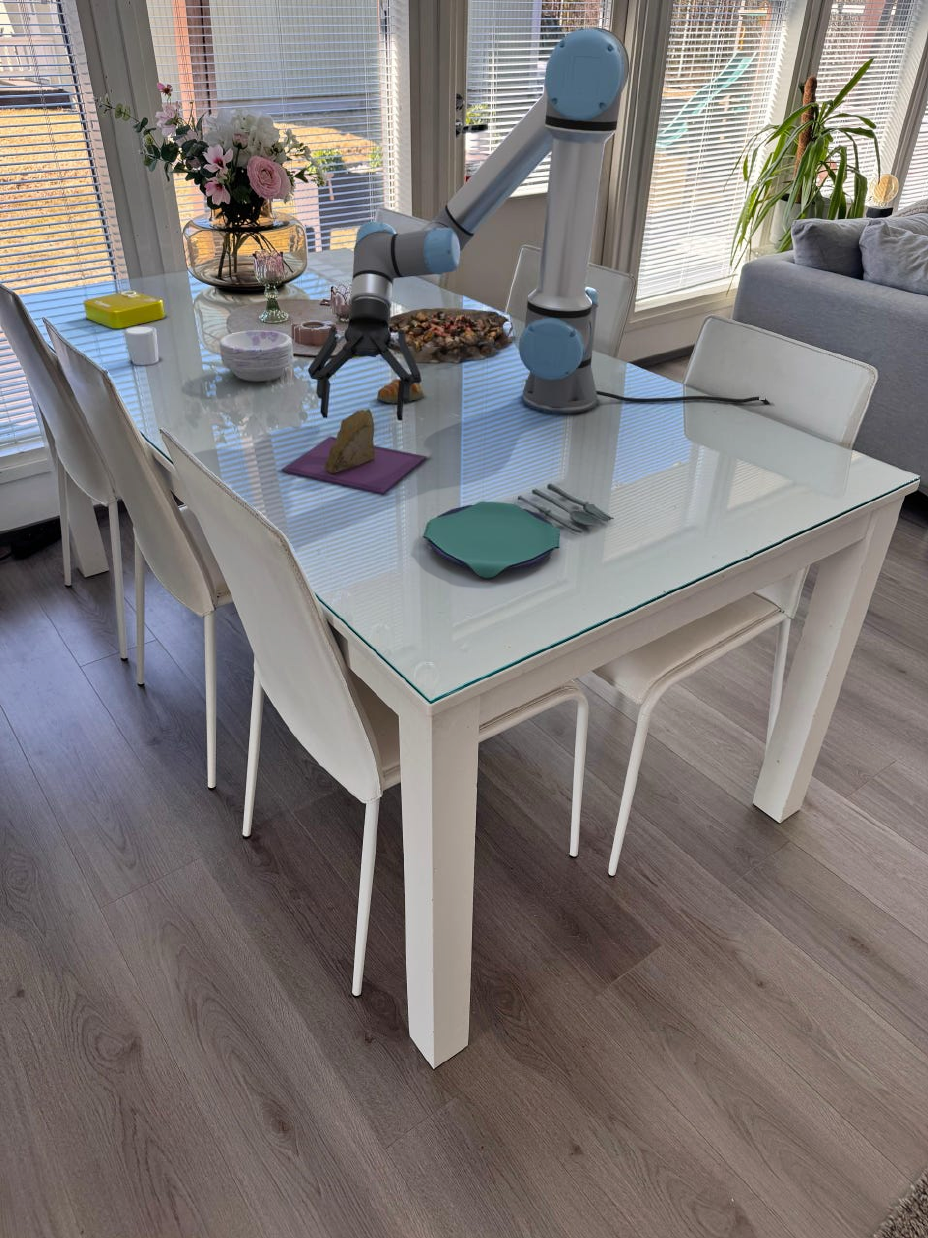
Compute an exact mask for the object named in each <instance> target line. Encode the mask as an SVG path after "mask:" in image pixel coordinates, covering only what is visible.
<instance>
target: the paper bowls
mask: <svg viewBox="0 0 928 1238" xmlns="http://www.w3.org/2000/svg"><path fill="white" fill-rule="evenodd" d="M219 348H220V358H221V363H222V365H223V366H224V367H225V368H227V369H230V370H231V371H232V372H233V374H234V376H236V378H238V379H240V380H243V381H247V382H257V383H258V382H269V381H273V380H276V379H278V378H280V377H281V376H282V375H283V374H284V372H285V370H286V368H287V367H289V366H291V365H292V364H293V363H294V351H293V350H294V349H293V339H292V338H291V336H289V335H288V334H286V333H284V332H281V331H274V330H260V329H256V330H254V329H253V330H243V331H237V332H236V331H235V332H232V333H229V334H227V335H224V336H223V337H221V338H220V340H219Z"/></svg>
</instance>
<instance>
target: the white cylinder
mask: <svg viewBox="0 0 928 1238" xmlns="http://www.w3.org/2000/svg"><path fill="white" fill-rule="evenodd" d="M123 335H124V338H125V341H126V345H127V349H128V351H129V355H130V359H131V361H132V363H133V365H136V366H149V365H154V364H156V363H158V362H159V350H158V349H159V348H158V338H157V337H158V335H157V328H155V327H154V326H150V325H135V326H130V327H126V328H124V330H123Z"/></svg>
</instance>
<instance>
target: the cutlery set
mask: <svg viewBox="0 0 928 1238" xmlns="http://www.w3.org/2000/svg"><path fill="white" fill-rule="evenodd" d="M546 487H547V488H546V489H547V490H549V491H552V493H553V492H554V493H555V494H557V495H559V496H560V497H562V498H564V499H565V500H567V501H569V502H571V503H572V504H576V505H578V506H581V507H582V509H583V510H584V511H581V510H575V509H574V510H570V509H569V508H568V507H566V506H564V505H563V504H561V503H560V502H559V501H557V500H556V499H554V498H553V497H551V496H549V495H548V494H546V493H544V492H543V491H541V490H540V489H538V488H534V489H531V494H533V495H535V496H536V497H539V498H541V499H543V500H545V501H546V502H549V503H552V505H554V506H556V507H558V508H560V509H561V510H563V511H564V512H566V513H567V514H569V518H570V519H571V520H572V521H574V523H576V524H579V525H582V526H589V527H594V526H596V525H599V524H600V523H599V521H598V519H600V520H602V521H604V522H609V521H612V520H615V518H614V517H612V516H610V515H609V514H607V513H605V512H604V511H603V510H602V509H600V508H598V507H597V506H596V504H595V503H589V502H588V501H585V502H584V501H583V500H580V499H578V498H575V497H574V496H572V495H571V494H569V493H567V492H565V491H564V490H562V489H561V488H560V487H558V486H556V485H554V483H551V482H550V483H548V484H547V486H546ZM520 500H521V501H522V502H524V503H527V504H529V505H530V506H532V507H533V508H536V509H537V510H538V511H539V513H540V514H538V513H536V512H534V511H532V510H529V509H527V508H523V507H521V506H520V505H518V504H516V503H512V502H502V501H484V500H483V501H479V502H476V503H474V504H468V505H464V506H460V507H455V508H451V509H449V510H447V511H445V512H443V513H441V514H438V515H437V516H436V517H434V518H431V519H429V521H427V523H426V526H425V529H424V532H423V535H422V537H423V538H424V539H427V542H428V545H429V547H430V548H431V549H432V550H433V551H434V552H435V554H437V555H438V556H440V557H441V558H444V559H446V560H447V561H449V562H451V563H453V564H456V565H460V566H463V567H467V568H471V570H473V571H474V572H475V574H476V575H478V576H480V577H481V578H484V579H490V578H493V577H496V576H497V575H498V574H500V572H502V571H504V570H514V569H521V568H523V567H528V566H531V565H534V564H536V563H539V562H541V561H543V560H544V559H546V558H547V557H549V556H551V554H552V553H553V551H554V550H555V549H560V541H561V540H560V539H561V538H560V537H561V531H560V529H559V528H558V527H557V526H555V525H554V524H553V523H552V522H550V520H547V519H546V518H547V517H549V518H550V519H552V520H553V521H555V522H556V523H558V524H560V525H562V526H563V527H565V528H567V529H569V530H571V531H573V532H575V533H583V529H581V528H579V527H577V526H576V525H573V523H570V522H568V521H566V520H565V519H563V518H561V517H559V516H557V515H555V514H554V513H552V509H551V508H550V509H548V508H547V507H545V506H539V505H538V504H536V503H534V502H532V501H529V500H528V499H526V498H525V497H523V496H522V495H518V496H517V501H520ZM541 514H544V516H542V515H541ZM597 518H598V519H597Z"/></svg>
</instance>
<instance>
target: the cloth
mask: <svg viewBox="0 0 928 1238" xmlns="http://www.w3.org/2000/svg"><path fill="white" fill-rule="evenodd" d="M336 438H337V437H334V436H329V437H327V438H325V440H323V441H321V442H320V443H318V444H316V446H314V447H313V448H311V449H309V450H308V451H307V452H305V453H303V454H302V455H301V456H299V457H298V458H296V459H295V460H293V461H292V462H290V463H289V464H287V465H286V466H285V467H283V468H282V469H281V472H282V473H287V474H291V475H294V476H299V477H303V478H308V479H314V480H317V481H321V482H326V483H331V484H334V485H339V486H344V487H347V488H352V489H357V490H361V491H366V492H368V493H369V492H370V493H374V494H379V495H385V494H387V493H388V492H389V491H390V490H391V489H392V488H393V487H395V486H396V485H397V484H398V483H399V482H401V481H402V480H403V479H404V478H406V476H408V475H409V474H410V473H411V472H412V471H413V470H415V469H416V468H417V467H418V466H419V465H421V464H422V463H423V462H424V461H426V460H427V456H426V455H421V454H417V453H411V452H407V451H401V450H396V449H392V448H388V447H383V446H377V445H374V448H375V458H374V459H373V460H370V461H367V462H365V463H363V464H360V465H358V466H353V467H350V468H349V469H346V470H342V471H339V472H336V473H330V472H329V471H327V470H326V469H325V466H326V461H327V459H328V456H329V452H330V449H331V447H332V445H333V444H334V443H335V441H336Z"/></svg>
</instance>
